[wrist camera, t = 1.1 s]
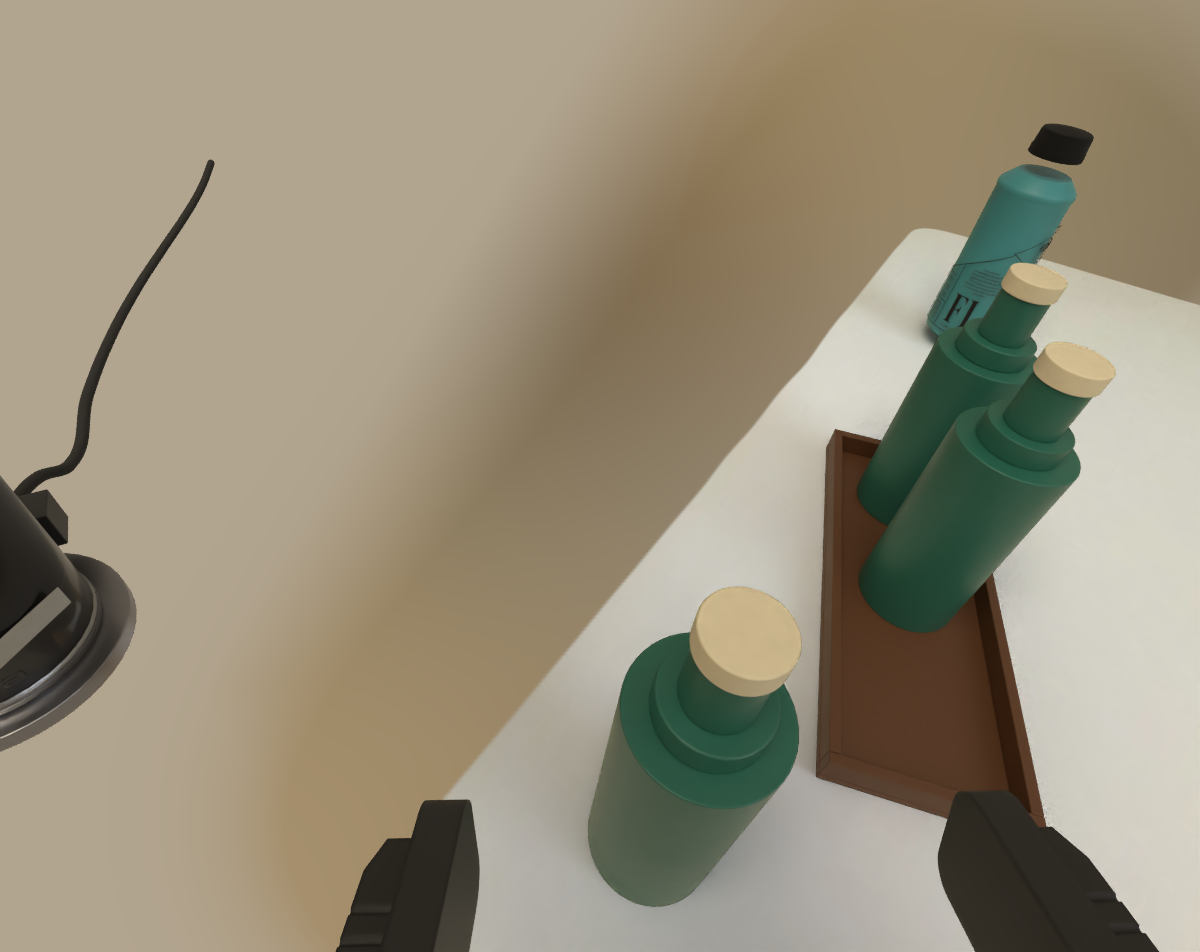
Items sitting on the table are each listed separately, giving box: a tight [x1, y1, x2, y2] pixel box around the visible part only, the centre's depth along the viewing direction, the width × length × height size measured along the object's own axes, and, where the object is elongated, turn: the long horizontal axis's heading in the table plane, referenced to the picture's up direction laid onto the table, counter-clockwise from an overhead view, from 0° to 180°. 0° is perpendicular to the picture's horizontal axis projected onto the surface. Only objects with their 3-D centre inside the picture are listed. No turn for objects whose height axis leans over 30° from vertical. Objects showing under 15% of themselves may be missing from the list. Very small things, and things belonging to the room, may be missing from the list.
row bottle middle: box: [859, 342, 1116, 633], centre depth 34 cm, size 6×6×18 cm
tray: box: [816, 429, 1046, 827], centre depth 40 cm, size 27×10×2 cm, turn 164°
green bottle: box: [588, 587, 802, 907], centre depth 23 cm, size 6×6×18 cm
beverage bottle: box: [927, 124, 1094, 335], centre depth 58 cm, size 6×7×20 cm
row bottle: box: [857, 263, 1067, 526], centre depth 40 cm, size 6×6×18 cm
